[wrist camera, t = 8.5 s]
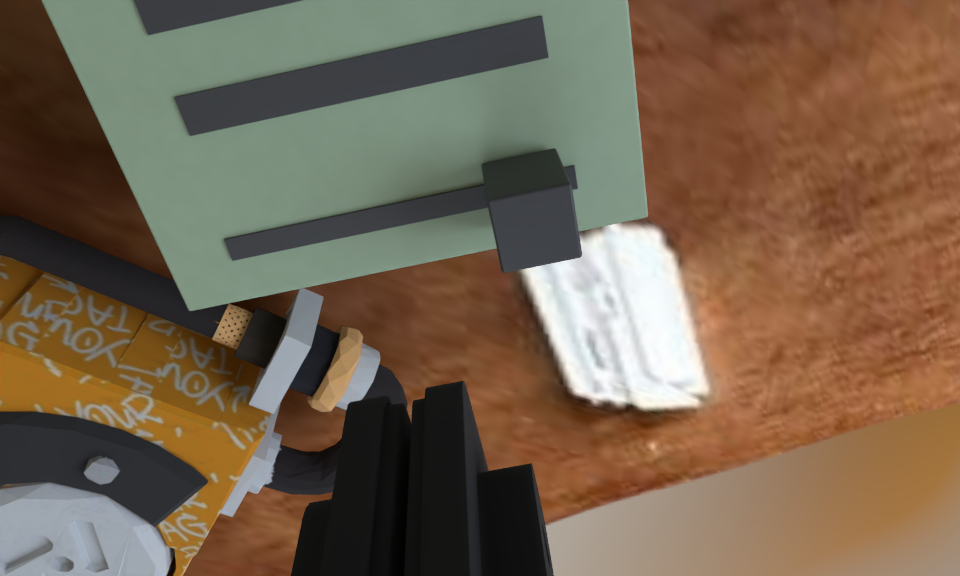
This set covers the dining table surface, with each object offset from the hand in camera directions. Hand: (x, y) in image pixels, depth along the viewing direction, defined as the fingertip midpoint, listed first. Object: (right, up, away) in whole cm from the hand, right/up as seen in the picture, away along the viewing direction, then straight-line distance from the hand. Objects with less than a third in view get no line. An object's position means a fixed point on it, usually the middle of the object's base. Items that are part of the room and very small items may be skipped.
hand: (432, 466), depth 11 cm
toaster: (-3, +14, +21) cm, 25 cm away
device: (-20, -2, +29) cm, 35 cm away
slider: (+2, +6, +13) cm, 14 cm away
